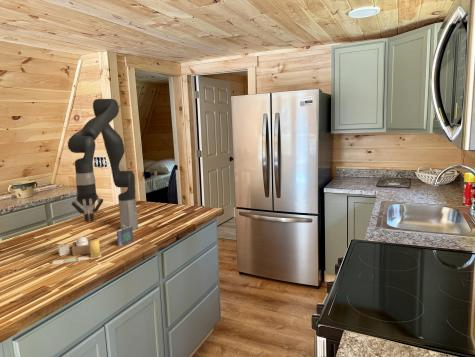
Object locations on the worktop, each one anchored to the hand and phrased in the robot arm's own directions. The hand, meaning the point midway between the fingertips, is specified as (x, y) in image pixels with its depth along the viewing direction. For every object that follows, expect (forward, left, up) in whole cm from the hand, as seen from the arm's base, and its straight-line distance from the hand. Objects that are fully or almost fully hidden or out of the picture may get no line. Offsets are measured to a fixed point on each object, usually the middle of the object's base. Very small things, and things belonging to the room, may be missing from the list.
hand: (89, 221), depth 151 cm
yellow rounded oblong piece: (-1, 0, -16) cm, 16 cm away
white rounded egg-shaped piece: (+4, -9, -15) cm, 18 cm away
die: (+12, -10, -16) cm, 23 cm away
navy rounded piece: (-15, -12, -18) cm, 26 cm away
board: (+6, -5, -17) cm, 19 cm away
